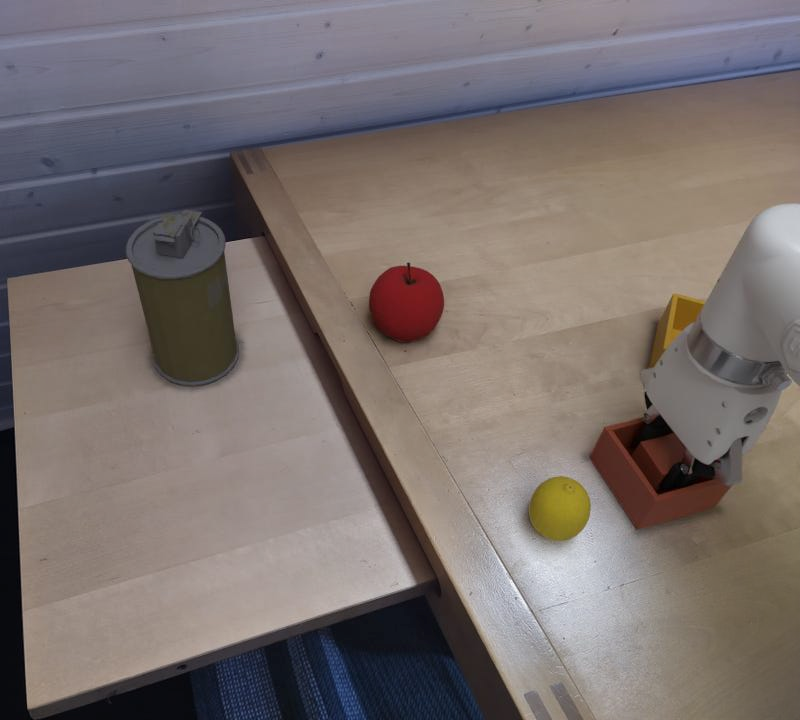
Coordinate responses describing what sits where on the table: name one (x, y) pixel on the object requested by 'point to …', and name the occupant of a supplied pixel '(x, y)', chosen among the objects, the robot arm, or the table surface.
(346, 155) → the table surface
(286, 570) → the table surface
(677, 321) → the yellow bin
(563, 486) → the lemon
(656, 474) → the clay block
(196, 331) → the canister
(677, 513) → the clay bin
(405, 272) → the apple
